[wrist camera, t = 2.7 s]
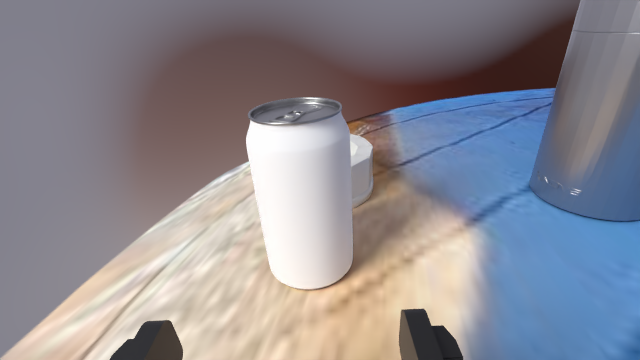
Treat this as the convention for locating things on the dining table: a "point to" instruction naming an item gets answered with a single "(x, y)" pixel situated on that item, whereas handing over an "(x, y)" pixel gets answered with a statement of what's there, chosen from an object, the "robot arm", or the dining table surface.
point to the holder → (361, 169)
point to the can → (303, 189)
